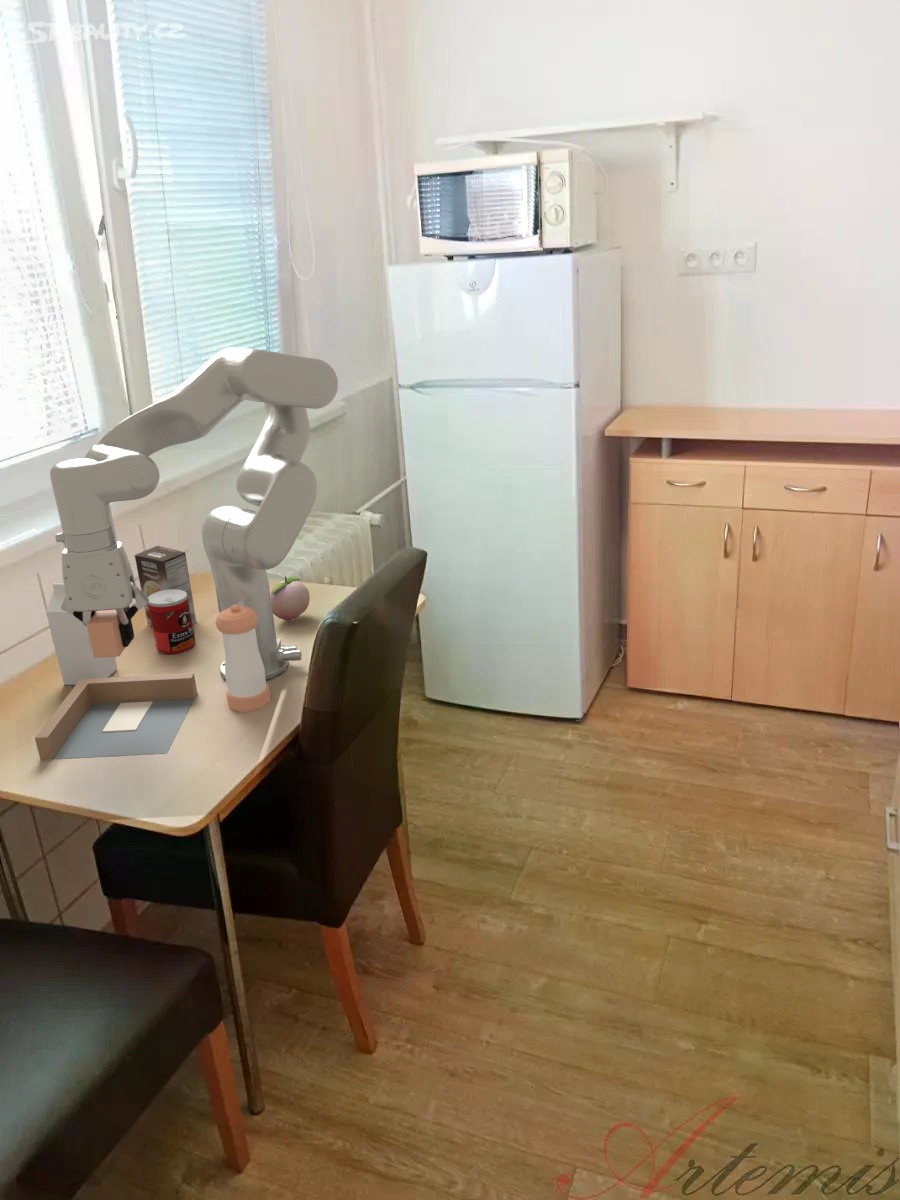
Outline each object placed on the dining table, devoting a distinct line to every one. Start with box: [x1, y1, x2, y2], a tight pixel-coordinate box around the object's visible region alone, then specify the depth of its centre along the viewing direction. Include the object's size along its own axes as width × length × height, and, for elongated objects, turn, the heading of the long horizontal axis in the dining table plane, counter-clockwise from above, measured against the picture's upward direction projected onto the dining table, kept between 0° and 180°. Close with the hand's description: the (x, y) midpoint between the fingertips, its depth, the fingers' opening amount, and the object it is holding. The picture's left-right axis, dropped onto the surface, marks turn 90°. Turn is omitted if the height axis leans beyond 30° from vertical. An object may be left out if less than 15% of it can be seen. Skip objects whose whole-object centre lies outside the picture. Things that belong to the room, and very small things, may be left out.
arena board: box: [34, 672, 198, 761], centre depth 153 cm, size 20×20×5 cm
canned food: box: [148, 589, 196, 655], centre depth 183 cm, size 8×8×11 cm
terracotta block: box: [87, 610, 126, 658], centre depth 150 cm, size 8×4×6 cm, turn 1°
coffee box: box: [134, 545, 197, 627], centre depth 193 cm, size 9×6×16 cm
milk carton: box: [45, 583, 118, 686], centre depth 170 cm, size 7×7×19 cm
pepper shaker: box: [215, 605, 271, 712], centre depth 156 cm, size 7×7×19 cm
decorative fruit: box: [270, 576, 311, 622], centre depth 192 cm, size 9×8×10 cm
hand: (113, 643), depth 151 cm, fingers closed on terracotta block, 4 cm apart
